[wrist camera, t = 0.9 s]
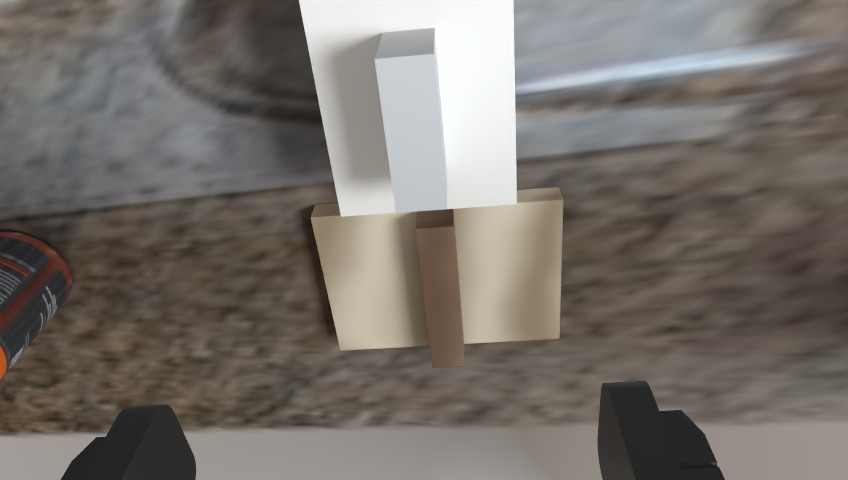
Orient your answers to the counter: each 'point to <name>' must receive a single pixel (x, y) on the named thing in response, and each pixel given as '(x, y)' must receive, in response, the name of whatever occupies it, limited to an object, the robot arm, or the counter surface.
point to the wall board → (486, 268)
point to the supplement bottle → (27, 292)
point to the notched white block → (416, 101)
